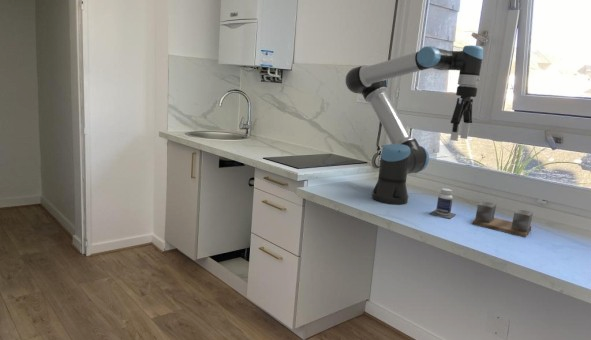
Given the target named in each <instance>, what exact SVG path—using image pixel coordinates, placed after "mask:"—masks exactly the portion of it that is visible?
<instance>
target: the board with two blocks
mask: <svg viewBox="0 0 591 340" xmlns="http://www.w3.org/2000/svg"><path fill="white" fill-rule="evenodd" d="M496 207H497V203H494V202H493V203H492V202H488V201H485V200H482V201H481V202H480V203H478V204H477V207H476V212H475V213H476V215H475V217H474V219H473V220H472V225H474V226H477V227H478V226H479V227H481V228H482V227H483V228H488V229H491V230H495V231H497V232H498V231H499V232H501V233H502V232H503V233H508V234H511V235H515V236H520V237H524V238H527V236H528V235H529V233H530V232H531V230H532V227H533V226H531V224H532V219H533V215H534V214H533V213H534V212H533V211H530V210H527V209H526V210H525V209H519V208H517V209H516V210H515V211H514V213H513V217H512V221H510V220H506V219H502V218H497V217H495V214H496V209H497V208H496Z"/></svg>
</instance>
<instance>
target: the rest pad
mask: <svg viewBox="0 0 591 340" xmlns="http://www.w3.org/2000/svg"><path fill="white" fill-rule="evenodd" d="M429 215H433V216H437V217H440V218H443V219H448V220H451V219H452V218H454V217H455V216H457V214H456V213H454V212H450V215H441V214H438V213H436V209H434V210H432V211H430V212H429Z"/></svg>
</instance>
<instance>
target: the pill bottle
mask: <svg viewBox="0 0 591 340" xmlns="http://www.w3.org/2000/svg"><path fill="white" fill-rule="evenodd" d="M452 193H453V190H452V189H449V188H446V187H445V188H444V187H443V188H441V189H440V193H439V194H438V196H437V202H436V203H437V204H436V209H435V210H436V213H438V214H441V215H450V213H452V212H451V211H452V205H453V199H454V197H453V195H452Z"/></svg>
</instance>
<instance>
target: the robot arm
mask: <svg viewBox="0 0 591 340" xmlns="http://www.w3.org/2000/svg"><path fill="white" fill-rule="evenodd" d="M483 55H484V48H483V47H482V46H480V45H472V44H471V45H470V44H469V45H464V46H463V48H462V50H447V49H443V48H438V47H435V46H431V45H430V46H423V47H421V48H420V50H419V51H416V52H413V53H412V52H411V53H409V54H405V55H402V56H398V57H396V58H392V59H388V60H386V61H382V62H378V63H375V64H371V65H369V66H368V65H365V64H364V65H361V66H360V65H359V66H357V67H353V68H352V69H350V70H349V71H348V72H347V73H346V76H345V85H346V87H347V89H348V90H349V91H350V92H351V93H354V94H359V95H362V97H363V98H364V101H365V102H366V103H368V104H369V103H370V105H371V107H372V109H373V111H374V112H375V115H376V116H377V118H378V120H379V122H380V124H381V126H382V127H383V129H384V131H385V133H386V135H387V137H388V139H389V141H390V144H386V145H384V146H383V147H382V148H381V149H382V150H381V153H380V161H379V162H380V163H379V169H378V170H379V172H378V176H377V177H378V178H377V181H376V183H375V186H374V188H373V189H372V192H371V193H372V194H371V198H372V199H373V200H375V201H377V202H380V203H384V204H388V205H389V204H391V205H403V204H407V203H408V201H409V194H408V189H407V178H408V174H417V173H420V172H421V171H423V170H425V169H426V168H427V167H428V165H429V161H430V154H429V152H428V150H427V149H426V148H425V147H423V146H421V145H419V143H418V140H417V139H416V138H414V137H411V135H410V134H409V131H408V130H407V127H406V126H405V124H404V122H403V120H402V119H401V117H400V115H399V114H398V112H397V109H396V108H395V105H394V104H393V102H392V101H391V99H390V97H389V95H388V92H389V88H388V80H390V79H395V78H397V77H401V76H402V77H403V76H405V75H408V74H409V75H410V74H412V73H417V72H421V71H424V70H429V69H434V70H438V71H440V70H441V71H459V73H458V80H457V85H458V86H457V87H456V94H455V95H456V96H458V98H457V99H456V104H455V107H454V111H453V114H452V117H451V120H450V124H452V125H451V132H450V139H449V140H450V141H455V142H458V139H459V138H460V139H465V140H467V139H468V136H469V131H470V124H473V102H474V99H473V98H475V97H477V93H478V85H479V82H480V81H481V78H480V75H481V68H482V63H483V59H484V58H483ZM459 96H460V97H459ZM462 119H463V122H462V124H460V123H461V120H462ZM460 128H461V131H460ZM459 133H460V135H459ZM459 136H460V137H459Z"/></svg>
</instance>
